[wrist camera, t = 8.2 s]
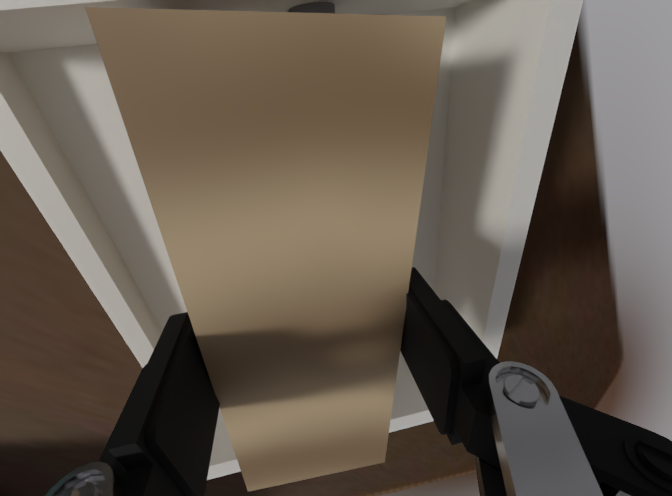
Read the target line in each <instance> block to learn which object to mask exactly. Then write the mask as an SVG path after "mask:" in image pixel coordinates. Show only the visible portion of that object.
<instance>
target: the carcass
mask: <svg viewBox="0 0 672 496" xmlns="http://www.w3.org/2000/svg"><path fill="white" fill-rule="evenodd" d="M582 4H583V0H0V150H1V152H2V154H3V155H4V157H5V158H6V160H7V161H8V163H9V164H10V166H11V167H12V169H13V170H14V172H15V173H16V175H17V176H18V178H19V180H20V181H21V183H22V184H23V186H24V187H25V189H26V190H27V192H28V193H29V195H30V196H31V198H32V199H33V201H34V202H35V204H36V206H37V207H38V209H39V210H40V212H41V213H42V215H43V216H44V218H45V219H46V221H47V222H48V224H49V225H50V227H51V228H52V230H53V232H54V233H55V235H56V236H57V238H58V239H59V241H60V242H61V244H62V245H63V247H64V248H65V250H66V251H67V253H68V254H69V256H70V258H71V259H72V261H73V262H74V264H75V265H76V267H77V268H78V270H79V271H80V273H81V274H82V276H83V277H84V279H85V280H86V282H87V284H88V285H89V287H90V288H91V290H92V291H93V293H94V294H95V296H96V297H97V299H98V300H99V302H100V303H101V305H102V306H103V308H104V310H105V311H106V313H107V314H108V316H109V317H110V319H111V320H112V322H113V323H114V325H115V326H116V328H117V329H118V331H119V332H120V334H121V336H122V337H123V339H124V340H125V342H126V343H127V345H128V346H129V348H130V349H131V351H132V352H133V354H134V355H135V357H136V358H137V360H138V362H139V363H140V365H141V366H142V368H144V366H145V365H146V364H148V361H149V359H150V357H151V355H152V353H153V351H154V348H155V346H156V344H157V342H158V340H159V338H160V336H161V333H162V331H163V329H164V327H165V325H166V323H167V320H168V318H169V317H170V316H171V315H175V314H180V313H185V312H187V309H186V306H185V303H184V300H183V297H182V294H181V291H180V288H179V285H178V282H177V279H176V276H175V274H174V271H173V268H172V265H171V262H170V259H169V256H168V253H167V250H166V247H165V244H164V241H163V238H162V235H161V232H160V229H159V226H158V223H157V220H156V217H155V214H154V211H153V208H152V205H151V202H150V199H149V196H148V193H147V190H146V187H145V184H144V181H143V178H142V176H141V173H140V170H139V167H138V164H137V161H136V158H135V155H134V152H133V149H132V146H131V143H130V140H129V137H128V134H127V131H126V128H125V125H124V122H123V119H122V116H121V113H120V110H119V107H118V104H117V101H116V98H115V95H114V92H113V89H112V86H111V83H110V80H109V77H108V75H107V72H106V69H105V66H104V63H103V60H102V57H101V54H100V51H99V48H98V45H97V42H96V39H95V36H94V33H93V30H92V27H91V24H90V21H89V18H88V15H87V12H86V9H85V7H102V8H141V9H180V10H218V11H257V12H296V13H334V14H373V15H412V16H447V17H446V24H445V31H444V38H443V46H442V53H441V60H440V67H439V74H438V82H437V89H436V96H435V103H434V110H433V118H432V125H431V132H430V139H429V146H428V154H427V161H426V168H425V175H424V182H423V190H422V197H421V204H420V211H419V218H418V226H417V233H416V240H415V247H414V254H413V262H412V267H415V268H416V269H417V270H418V272H419V273H420V274H421V275H422V277H423V278H424V279H425V281H426V282H427V283H428V284H429V286H430V287H431V288H432V289H433V291H434V292H435V293H436V295H437V296H438V297H439V298H440V300H444V299H445V300H448V301H449V302H450V303H451V304H452V305H453V307H454V308H455V309H456V310H457V311H458V313H459V314H460V315H461V316H462V318H463V319H464V320H465V321H466V322H467V324H468V325H469V326H470V327H471V329H472V330H473V331H474V332H475V333H476V335H477V336H478V337H479V338H480V339H481V341H482V342H483V343H484V344H485V346H486V347H487V348H488V349H489V350H490V352H491V353H492V354H493V355H494V356H495V358H496V359H497V357H498V353H499V349H500V344H501V340H502V336H503V332H504V328H505V324H506V320H507V315H508V311H509V307H510V303H511V299H512V295H513V290H514V286H515V282H516V278H517V274H518V270H519V266H520V261H521V257H522V253H523V249H524V245H525V241H526V237H527V232H528V228H529V224H530V220H531V216H532V212H533V208H534V203H535V199H536V195H537V191H538V187H539V183H540V179H541V174H542V170H543V166H544V162H545V158H546V154H547V149H548V145H549V141H550V137H551V133H552V129H553V125H554V120H555V116H556V112H557V108H558V104H559V100H560V96H561V91H562V87H563V83H564V79H565V75H566V71H567V67H568V62H569V58H570V54H571V50H572V46H573V42H574V37H575V33H576V29H577V25H578V21H579V17H580V13H581V8H582ZM432 421H434V420H433V418H432V416H431V414H430V412H429V409H428V407H427V405H426V403H425V401H424V399H423V397H422V395H421V393H420V391H419V389H418V387H417V384H416V382H415V380H414V378H413V376H412V374H411V372H410V370H409V368H408V366H407V364H406V362H405V359H404V357H403V355H402V353H401V351H400V355H399V362H398V370H397V377H396V384H395V391H394V398H393V406H392V413H391V420H390V427H389V433H390V432H393V431H397V430H401V429H405V428H409V427H413V426H416V425H420V424H424V423H428V422H432ZM237 472H241V470H240V467H239V464H238V461H237V458H236V455H235V452H234V449H233V446H232V443H231V440H230V437H229V434H228V431H227V428H226V425H225V422H224V419H223V416H222V413H221V410H220V407H219V413H218V418H217V424H216V430H215V436H214V441H213V447H212V453H211V459H210V464H209V470H208V476H207V480H210V479H214V478H218V477H221V476H225V475H229V474H233V473H237Z"/></svg>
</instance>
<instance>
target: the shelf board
mask: <svg viewBox="0 0 672 496" xmlns="http://www.w3.org/2000/svg"><path fill="white" fill-rule="evenodd" d="M85 9H86V12H87V15H88V18H89V21H90V24H91V27H92V30H93V33H94V36H95V39H96V42H97V45H98V48H99V51H100V54H101V57H102V60H103V63H104V66H105V69H106V72H107V75H108V77H109V80H110V83H111V86H112V89H113V92H114V95H115V98H116V101H117V104H118V107H119V110H120V113H121V116H122V119H123V122H124V125H125V128H126V131H127V134H128V137H129V140H130V143H131V146H132V149H133V152H134V155H135V158H136V161H137V164H138V167H139V170H140V173H141V176H142V178H143V181H144V184H145V187H146V190H147V193H148V196H149V199H150V202H151V205H152V208H153V211H154V214H155V217H156V220H157V223H158V226H159V229H160V232H161V235H162V238H163V241H164V244H165V247H166V250H167V253H168V256H169V259H170V262H171V265H172V268H173V271H174V274H175V276H176V279H177V282H178V285H179V288H180V291H181V294H182V297H183V300H184V303H185V306H186V309H187V312H188V315H189V318H190V321H191V324H192V327H193V330H194V333H195V336H196V339H197V342H198V345H199V348H200V351H201V354H202V357H203V360H204V363H205V366H206V369H207V372H208V375H209V377H210V380H211V383H212V386H213V389H214V392H215V395H216V397H217V399H218V401H219V403H220V410H221V413H222V416H223V419H224V422H225V425H226V428H227V431H228V434H229V437H230V440H231V443H232V446H233V449H234V452H235V455H236V458H237V461H238V464H239V467H240V470H241V473H242V475H243V478H244V481H245V484H246V487H247V490H248V492H249V491H254V490H258V489H263V488H267V487H272V486H277V485H281V484H286V483H291V482H295V481H300V480H304V479H309V478H314V477H318V476H323V475H328V474H332V473H337V472H341V471H346V470H351V469H355V468H360V467H365V466H369V465H374V464H378V463H383V462H385V456H386V449H387V442H388V434H389V427H390V420H391V413H392V406H393V398H394V391H395V384H396V377H397V370H398V362H399V355H400V348H401V341H402V334H403V326H404V319H405V312H406V293H408V290H409V283H410V276H411V269H412V262H413V254H414V247H415V240H416V233H417V226H418V218H419V211H420V204H421V197H422V190H423V182H424V175H425V168H426V161H427V154H428V146H429V139H430V132H431V125H432V118H433V110H434V103H435V96H436V89H437V82H438V74H439V67H440V60H441V53H442V46H443V38H444V31H445V24H446V17H447V16H412V15H373V14H334V13H296V12H257V11H218V10H180V9H141V8H102V7H85Z"/></svg>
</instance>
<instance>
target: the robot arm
mask: <svg viewBox="0 0 672 496" xmlns="http://www.w3.org/2000/svg"><path fill="white" fill-rule="evenodd" d="M400 351H401V353H402V355H403V357H404V359H405V362H406V364H407V366H408V368H409V370H410V372H411V374H412V376H413V378H414V380H415V382H416V384H417V387H418V389H419V391H420V393H421V395H422V397H423V399H424V401H425V403H426V405H427V407H428V409H429V412H430V414H431V416H432V418H433V420H434V422H435V424H436V426H437V428H438V430H439V432H440V433H441V434H442V435H443V434H447V436H448V438H449V440H450V442H451V444H452V445H454V444H458V443H461V442H462V443H463V444H464V446H465V448H466V450H467V452H469V453H471V454H473V455H474V460H475V466H476V473H477V479H478V485H479V492H480V496H672V441H670V440H669V439H667V438H665V437H663V436H660V435H658V434H656V433H654V432H652V431H649V430H647V429H644V428H641V427H639V426H636V425H634V424H631V423H628V422H626V421H623V420H621V419H618V418H616V417H613V416H610V415H608V414H605V413H603V412H600V411H597V410H595V409H592V408H590V407H587V406H584V405H582V404H579V403H577V402H574V401H572V400H569V399H566V398H564V397H561V396H559V395H558V393H557V390H556V389H555V387H554V386H553V384H552V382H551V381H550V380H549V379H548V378H547V377H546V376H545V375H543V374H542V373H541V372H539V371H537V370H536V369H534V368H532V367H530V366H528V365H525V364H522V363H517V362H502V363H499V361H498V360H497V359H496V358H495V356H494V355H493V354H492V353H491V352H490V350H489V349H488V348H487V347H486V346H485V344H484V343H483V342H482V341H481V339H480V338H479V337H478V336H477V335H476V333H475V332H474V331H473V330H472V329H471V327H470V326H469V325H468V324H467V322H466V321H465V320H464V319H463V318H462V316H461V315H460V314H459V313H458V311H457V310H456V309H455V308H454V307H453V305H452V304H451V303H450V302H449V301H448V300H445V299H444V300H440V298H439V297H438V296H437V295H436V293H435V292H434V291H433V289H432V288H431V287H430V286H429V284H428V283H427V282H426V281H425V279H424V278H423V277H422V275H421V274H420V273H419V272H418V270H417V269H416V268H415V267H412V269H411V276H410V283H409V290H408V293H406V312H405V319H404V326H403V334H402V341H401V348H400ZM219 407H220V403H219V401H218V399H217V397H216V395H215V392H214V389H213V386H212V383H211V380H210V377H209V375H208V372H207V369H206V366H205V363H204V360H203V357H202V354H201V351H200V348H199V345H198V342H197V339H196V336H195V333H194V330H193V327H192V324H191V321H190V318H189V315H188V312H185V313H180V314H175V315H171V316H170V317H169V318H168V320H167V323H166V325H165V327H164V329H163V331H162V333H161V336H160V338H159V340H158V342H157V344H156V346H155V348H154V351H153V353H152V355H151V357H150V359H149V361H148V364H146V365H145V366H144V368H143V369H142V371H141V373H140V375H139V377H138V379H137V381H136V384H135V386H134V388H133V390H132V392H131V394H130V396H129V398H128V400H127V403H126V405H125V407H124V409H123V411H122V413H121V415H120V417H119V419H118V422H117V424H116V426H115V428H114V430H113V432H112V434H111V436H110V438H109V441H108V443H107V445H106V447H105V449H104V451H103V453H102V455H101V457H100V460H99V461H98V462H92V463H88V464H85V465H83V466H81V467H79V468H77V469H75V470H73V471H72V472H70V473H69V474H68V475H66V476H65V477H63V478H62V479H61V480H60V481H59V482H58V483H57V484H55V485H54V486H53V487H52V488H51V489H50V490H49V492H48V493H47V494H46V495H45V496H203V495H204V492H205V488H206V482H207V476H208V470H209V464H210V459H211V453H212V447H213V441H214V436H215V430H216V424H217V418H218V413H219Z"/></svg>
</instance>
